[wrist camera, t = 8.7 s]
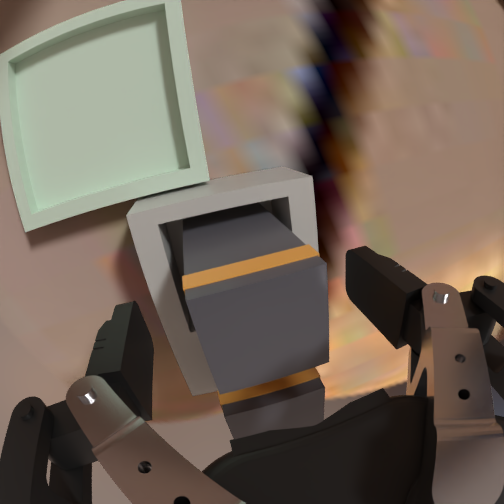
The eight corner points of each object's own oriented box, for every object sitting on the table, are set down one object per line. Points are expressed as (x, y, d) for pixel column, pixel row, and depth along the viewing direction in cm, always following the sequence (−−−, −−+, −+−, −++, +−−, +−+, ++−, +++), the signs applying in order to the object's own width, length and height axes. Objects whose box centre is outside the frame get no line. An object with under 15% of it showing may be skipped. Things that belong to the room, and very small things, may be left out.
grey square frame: (139, 196, 15) (94, 265, 7) (282, 166, 16) (381, 202, 8) (188, 353, 19) (202, 467, 11) (299, 325, 20) (358, 421, 12)
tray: (9, 60, 9) (-3, 56, 8) (178, 0, 11) (179, -11, 10) (36, 224, 14) (25, 232, 12) (207, 176, 15) (209, 180, 14)
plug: (181, 218, 15) (183, 299, 8) (258, 200, 15) (327, 261, 8) (199, 287, 16) (219, 395, 9) (269, 269, 17) (330, 362, 10)
